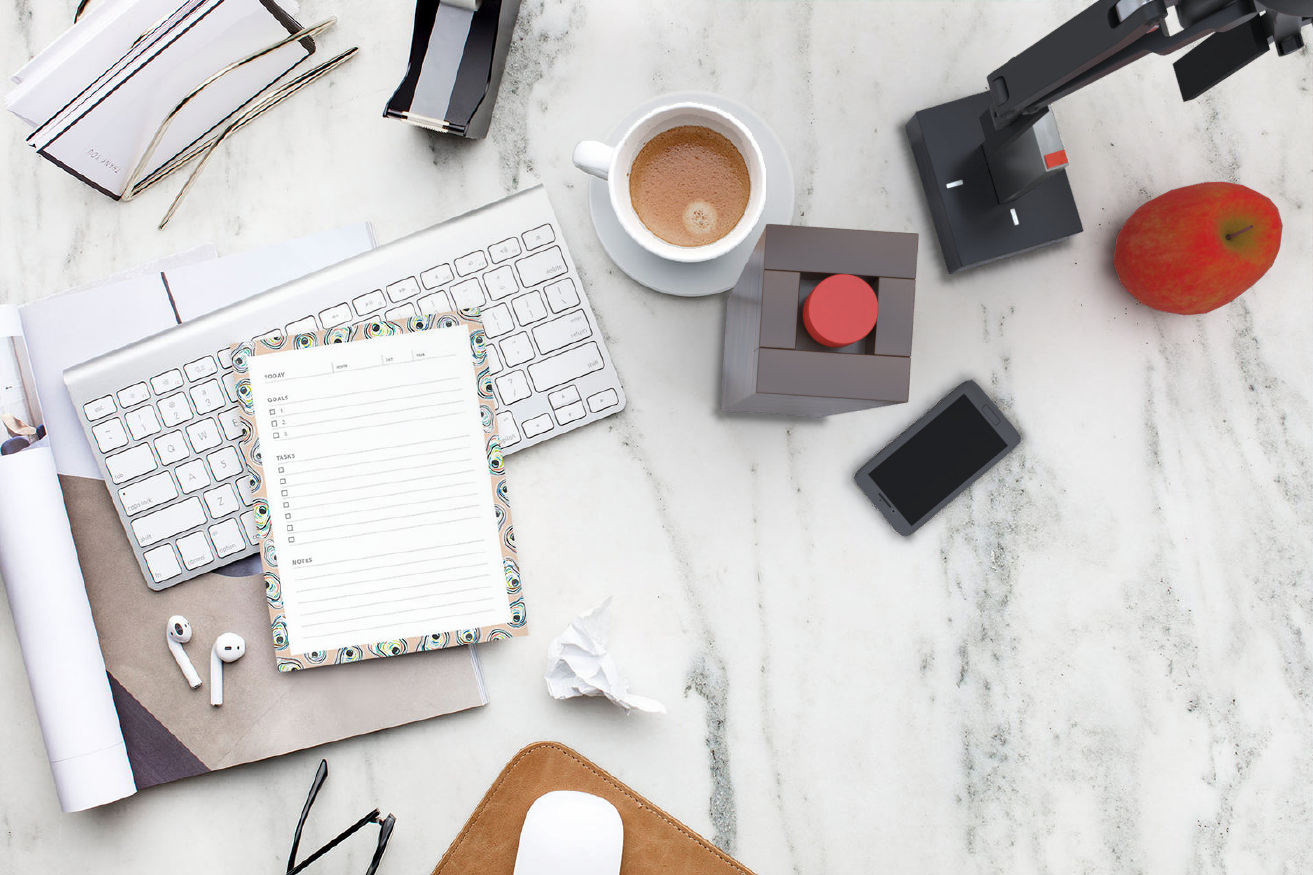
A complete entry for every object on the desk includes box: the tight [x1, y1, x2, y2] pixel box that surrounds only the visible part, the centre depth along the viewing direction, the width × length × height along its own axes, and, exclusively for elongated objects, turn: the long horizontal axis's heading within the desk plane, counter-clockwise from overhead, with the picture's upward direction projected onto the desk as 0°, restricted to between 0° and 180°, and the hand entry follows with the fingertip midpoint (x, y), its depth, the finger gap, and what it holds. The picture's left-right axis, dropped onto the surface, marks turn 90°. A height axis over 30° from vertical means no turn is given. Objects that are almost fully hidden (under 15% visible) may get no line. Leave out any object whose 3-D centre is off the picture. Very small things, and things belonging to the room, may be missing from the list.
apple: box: [1112, 181, 1284, 316], centre depth 64 cm, size 11×11×11 cm
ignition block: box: [720, 223, 919, 418], centre depth 58 cm, size 10×9×24 cm
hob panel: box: [905, 89, 1084, 275], centre depth 68 cm, size 14×11×3 cm
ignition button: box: [803, 274, 878, 348], centre depth 45 cm, size 4×4×2 cm
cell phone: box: [854, 379, 1022, 537], centre depth 69 cm, size 7×14×1 cm, turn 130°
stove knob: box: [982, 103, 1069, 204], centre depth 63 cm, size 6×2×8 cm, turn 16°
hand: (1086, 108), depth 52 cm, fingers open, 13 cm apart
